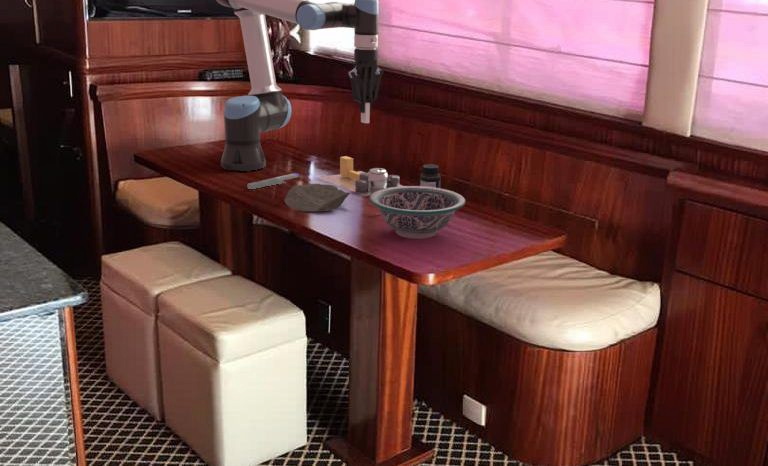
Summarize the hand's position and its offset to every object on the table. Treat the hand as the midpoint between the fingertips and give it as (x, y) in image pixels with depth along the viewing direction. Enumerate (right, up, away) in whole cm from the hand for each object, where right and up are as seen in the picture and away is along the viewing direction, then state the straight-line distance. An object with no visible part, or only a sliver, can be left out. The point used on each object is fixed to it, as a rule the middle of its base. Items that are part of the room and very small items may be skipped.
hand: (365, 122), depth 274 cm
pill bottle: (+20, -27, -21) cm, 40 cm away
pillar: (-29, -21, -6) cm, 36 cm away
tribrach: (-1, -21, -5) cm, 21 cm away
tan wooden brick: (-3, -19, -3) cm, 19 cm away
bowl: (+15, -36, -50) cm, 63 cm away
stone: (-14, -28, -28) cm, 42 cm away
